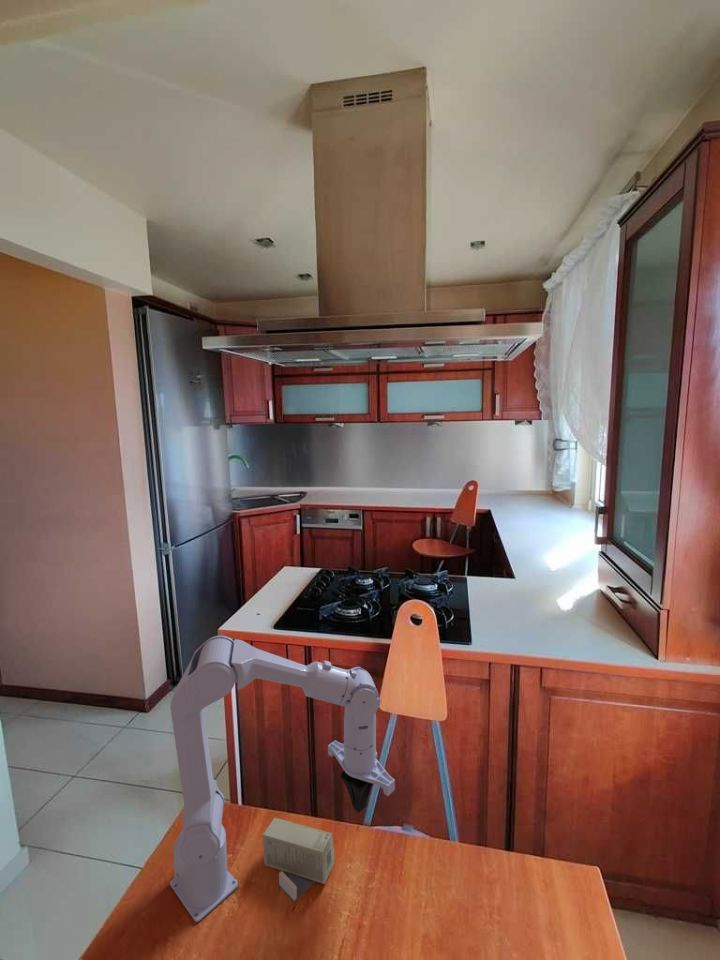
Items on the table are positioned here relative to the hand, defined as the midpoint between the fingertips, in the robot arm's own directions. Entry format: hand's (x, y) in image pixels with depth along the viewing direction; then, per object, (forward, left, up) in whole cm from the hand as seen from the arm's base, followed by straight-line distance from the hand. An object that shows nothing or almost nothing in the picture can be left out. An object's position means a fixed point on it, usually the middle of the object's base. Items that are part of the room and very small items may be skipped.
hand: (359, 807), depth 83 cm
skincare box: (-1, -6, -7) cm, 9 cm away
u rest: (-5, -8, -10) cm, 14 cm away
